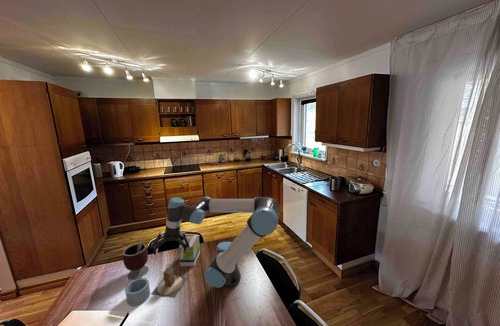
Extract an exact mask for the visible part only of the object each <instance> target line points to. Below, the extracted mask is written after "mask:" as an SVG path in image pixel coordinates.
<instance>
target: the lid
mask: <svg viewBox="0 0 500 326" xmlns="http://www.w3.org/2000/svg"><path fill="white" fill-rule="evenodd" d="M162 274H163V279H162V280H160V281H159V283H158V284H157V286H156V287H157V291H158V293H159V294H160V295H170V294H173V293H175V292H176V291H178V290H179V289H180V288H181V286H182V283H183V282H182V278H181V277H182V276H180V275H175V272H174V268H168V267H167V268H165V270H164V271H163V272H162ZM182 287H183V286H182ZM181 289H182V288H181ZM181 289H180V290H181Z"/></svg>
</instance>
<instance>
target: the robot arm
mask: <svg viewBox="0 0 500 326" xmlns="http://www.w3.org/2000/svg"><path fill="white" fill-rule="evenodd" d="M206 213H240V214H241V213H242V214H243V213H244V214H245V213H246V214H249V213H250V214H251V215H250V216H249V218H248V219H247V220H246V225H245V227H244V228H243V229H242V230H241V231H240V233H239V234H238V235H237V236H236V237H235V238H234V240H232V241H223V242H219V243H218V244H217V246H216V248H215V249H216V253H215V255H214V256H213V258H212V259H211V261H210V263H209V264H208V266H207V267H206V269H205V271H204V274H203V276H204V280H205V282H206V283H207V284H208V285H209V286H211V287H213V288H218V289H219V288H223V289H231V288H234V287H235V286H236V287H237V285H238V284H240V281H241V280H242V276H241V275H242V273H241V271H240V269H239V266H238V262H239V261H240V260H241V259H242V258H243V257H244V256H245V254H247V252H249V250H250V249H251V248H252V247H253V246H254V245H255V244H256V243H257V241H259V239H264V238H265V237H267V236H269V235H271V234H273V233H274V232H275V231H276V229H277V227H278V224H279V218H280V214H281V207H280V204H279V202H278V201H277V200H276V199H274V198H272V197H268V196H255V197H254V198H211V197H209V196H204V197H201V198H200V199H199V200H197V202H195V203H193V205H189V204H185V200H184V199H183V198H182V197H176V196H175V197H172V198H170V199H169V201H168V204H167V214H166V215H167V216H166V221H165V222H166V223H165V229H164V232H161V231H159V232H158V234H157V236H156V237H155V239H154V240H153V242H152V243H151V245H150V250H153V255H154V256H155V259H154V261H157V260H158V251H159V248H160V247H162V245H163V244H165V243H167V242H174V241H176V242H177V243H178V244H179V246H180V245H181V246H182V251H181V259H182V258H183V253H185V251H186V248H187V247H189V242H188V240H187V238H186V236H187V235H186V231H182V232H181V225H182V220H183V221H186V222H188V223H191V224H195V225H201V224H202V223H203V221H204V219H205V215H206ZM180 236H181V237H182V238H183V240H184V241H185V243H186V244H185V243H184V242H183V240H182V239H181V238H180Z"/></svg>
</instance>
